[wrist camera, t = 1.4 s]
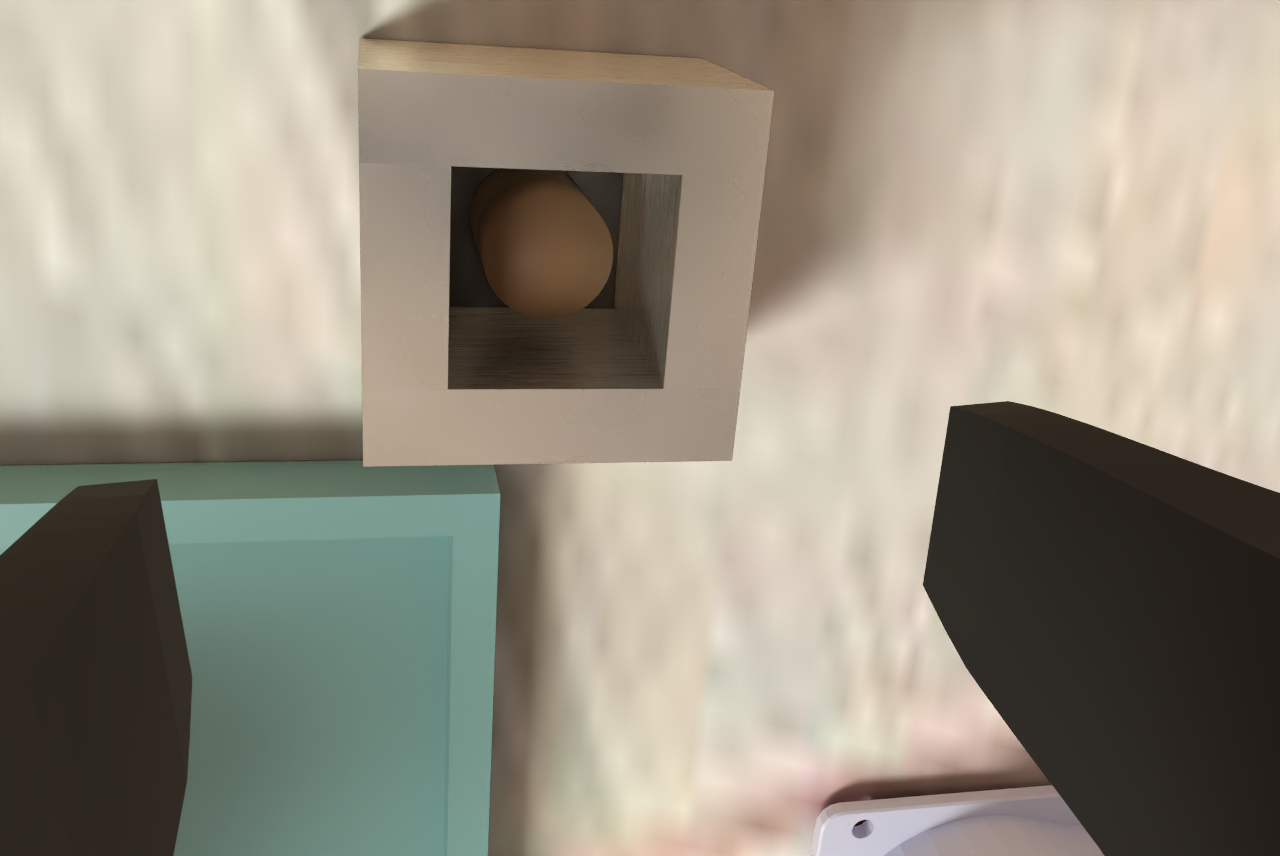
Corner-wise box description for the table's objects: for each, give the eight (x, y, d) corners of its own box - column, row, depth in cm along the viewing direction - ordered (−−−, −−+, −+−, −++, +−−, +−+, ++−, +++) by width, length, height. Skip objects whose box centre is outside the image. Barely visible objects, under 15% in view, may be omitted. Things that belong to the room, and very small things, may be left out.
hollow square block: (701, 58, 20) (774, 91, 17) (672, 371, 22) (731, 460, 19) (359, 38, 19) (357, 68, 15) (363, 371, 21) (363, 466, 18)
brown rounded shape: (590, 162, 20) (617, 193, 18) (583, 276, 21) (608, 319, 19) (472, 157, 20) (485, 188, 18) (469, 274, 21) (481, 318, 19)
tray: (492, 458, 22) (500, 493, 21) (478, 914, 26) (483, 968, 25) (-176, 467, 20) (-216, 508, 19) (-76, 968, 24) (-102, 1031, 23)
